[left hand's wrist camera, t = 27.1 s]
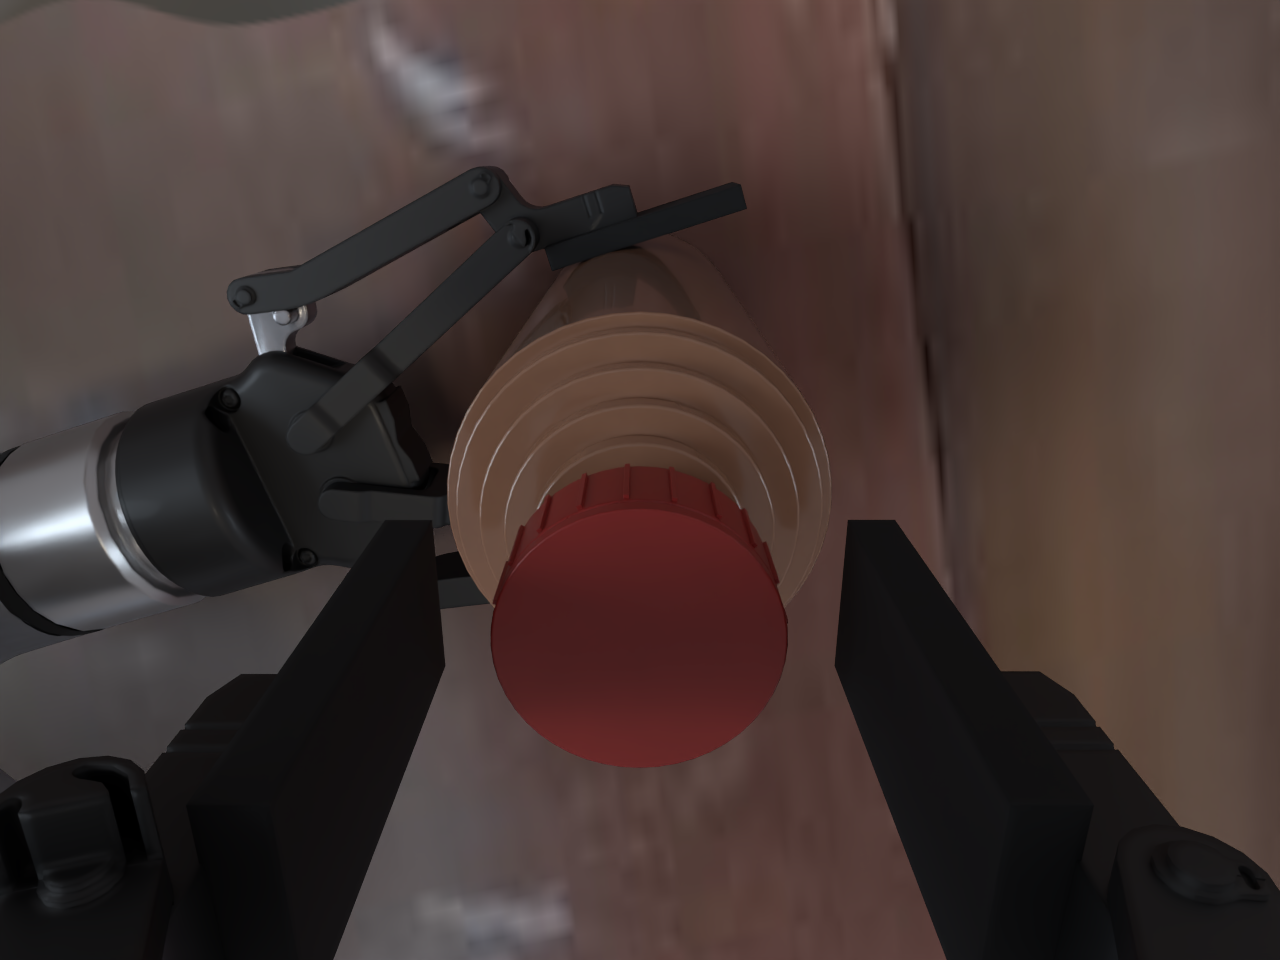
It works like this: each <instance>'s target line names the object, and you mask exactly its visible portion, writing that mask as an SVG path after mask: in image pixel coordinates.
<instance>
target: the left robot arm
mask: <svg viewBox="0 0 1280 960" xmlns="http://www.w3.org/2000/svg"><path fill="white" fill-rule="evenodd" d="M444 668H445V657H444V646H443V635H442V624H441V613H440V602H439V591H438V580H437V569H436V558H435V547H434V536H433V525H432V520H385V521H384V522H383V524H382V525H381V527H380V528H379V529H378V531H377V532H376V534H375V535H374V537H373V538H372V539H371V541H370V542H369V544H368V545H367V547H366V548H365V550H364V551H363V552H362V554H361V555H360V557H359V558H358V560H357V561H356V562H355V564H354V565H353V567H352V568H351V570H350V571H349V572H348V574H347V575H346V577H345V578H344V580H343V581H342V582H341V584H340V585H339V587H338V588H337V590H336V591H335V592H334V594H333V595H332V597H331V598H330V600H329V601H328V602H327V604H326V605H325V607H324V608H323V610H322V611H321V612H320V614H319V615H318V617H317V618H316V620H315V621H314V623H313V624H312V625H311V627H310V628H309V630H308V631H307V633H306V634H305V635H304V637H303V638H302V640H301V641H300V643H299V644H298V645H297V647H296V648H295V650H294V651H293V653H292V654H291V655H290V657H289V658H288V660H287V661H286V663H285V664H284V665H283V667H282V668H281V670H280V671H279V673H278V674H241V675H239V676H238V677H236V678H235V679H233V680H232V681H230V682H229V683H227V684H226V685H224V686H223V687H221V688H220V689H218V690H217V691H215V692H214V693H212V694H211V695H210V696H208V697H207V698H206V699H205V700H204V701H203V703H202V704H201V705H200V706H199V708H198V709H197V710H196V711H195V713H194V714H193V715H192V716H191V718H190V719H189V720H188V721H187V723H186V724H185V729H184V730H180V731H179V733H178V734H177V735H176V736H175V738H174V739H173V740H172V741H171V743H170V744H169V745H168V746H167V752H166V753H162V754H161V755H160V757H159V758H158V759H157V760H156V762H155V763H154V764H153V765H152V767H151V768H150V769H149V770H148V772H147V773H146V774H145V773H144V771H143V770H142V769H141V768H140V767H139V766H137V765H136V764H135V763H134V762H132V761H131V760H128V759H122V758H117V757H112V756H100V757H89V758H78V759H75V760H71V761H68V762H64V763H61V764H57V765H54V766H50V767H47V768H45V769H43V770H41V771H38V772H36V773H34V774H32V775H30V776H28V777H26V778H24V779H22V780H20V781H18V782H15V783H14V784H13V785H11V786H10V787H9V788H7V789H6V790H4V791H3V792H2V793H0V960H333V959H334V956H335V954H336V951H337V948H338V946H339V943H340V940H341V938H342V935H343V933H344V930H345V927H346V925H347V922H348V919H349V917H350V914H351V912H352V909H353V906H354V904H355V901H356V898H357V896H358V893H359V891H360V888H361V885H362V883H363V880H364V878H365V875H366V872H367V870H368V867H369V864H370V862H371V859H372V857H373V854H374V851H375V849H376V846H377V843H378V841H379V838H380V836H381V833H382V830H383V828H384V825H385V822H386V820H387V817H388V815H389V812H390V809H391V807H392V804H393V801H394V799H395V796H396V794H397V791H398V788H399V786H400V783H401V781H402V778H403V775H404V773H405V770H406V767H407V765H408V762H409V760H410V757H411V754H412V752H413V749H414V746H415V744H416V741H417V739H418V736H419V733H420V731H421V728H422V725H423V723H424V720H425V718H426V715H427V712H428V710H429V707H430V704H431V702H432V699H433V697H434V694H435V691H436V689H437V686H438V683H439V681H440V678H441V676H442V673H443V670H444ZM835 668H836V670H837V673H838V676H839V678H840V681H841V684H842V686H843V689H844V691H845V694H846V697H847V699H848V702H849V704H850V707H851V710H852V712H853V715H854V718H855V720H856V723H857V725H858V728H859V731H860V733H861V736H862V739H863V741H864V744H865V746H866V749H867V752H868V754H869V757H870V760H871V762H872V765H873V767H874V770H875V773H876V775H877V778H878V781H879V783H880V786H881V788H882V791H883V794H884V796H885V799H886V801H887V804H888V807H889V809H890V812H891V815H892V817H893V820H894V822H895V825H896V828H897V830H898V833H899V836H900V838H901V841H902V843H903V846H904V849H905V851H906V854H907V857H908V859H909V862H910V864H911V867H912V870H913V872H914V875H915V878H916V880H917V883H918V885H919V888H920V891H921V893H922V896H923V899H924V901H925V904H926V906H927V909H928V912H929V914H930V917H931V919H932V922H933V925H934V927H935V930H936V933H937V935H938V938H939V940H940V943H941V946H942V948H943V951H944V954H945V956H946V959H947V960H1280V891H1279V889H1278V888H1277V886H1276V885H1275V884H1274V882H1273V881H1272V879H1271V878H1270V876H1269V875H1268V873H1267V872H1265V871H1264V870H1263V869H1262V868H1261V867H1259V866H1258V865H1257V864H1256V863H1255V862H1253V861H1252V860H1251V859H1250V858H1249V857H1247V856H1246V855H1245V854H1244V853H1242V852H1240V851H1239V850H1237V849H1235V848H1233V847H1231V846H1229V845H1228V844H1226V843H1224V842H1222V841H1220V840H1218V839H1216V838H1215V837H1212V836H1209V835H1206V834H1203V833H1200V832H1197V831H1194V830H1191V829H1187V828H1184V827H1180V826H1179V825H1178V823H1177V822H1176V821H1175V820H1174V818H1173V817H1172V816H1171V815H1170V814H1169V812H1168V811H1167V810H1166V809H1165V807H1164V806H1163V805H1162V804H1161V802H1160V801H1159V800H1158V799H1157V797H1156V796H1155V795H1154V794H1153V792H1152V791H1151V790H1150V789H1149V787H1148V786H1147V785H1146V784H1145V782H1144V781H1143V780H1142V779H1141V777H1140V776H1139V775H1138V774H1137V772H1136V771H1135V770H1134V769H1133V768H1132V766H1131V765H1130V764H1129V763H1128V761H1127V760H1126V759H1125V758H1124V756H1123V755H1122V754H1121V753H1120V751H1119V750H1114V744H1113V743H1112V741H1111V740H1110V739H1109V738H1108V736H1107V735H1106V734H1105V733H1104V731H1103V730H1102V729H1101V728H1100V727H1096V724H1095V720H1094V719H1093V718H1092V717H1091V715H1090V714H1089V713H1088V712H1087V710H1086V709H1085V708H1084V707H1083V705H1082V704H1081V703H1080V702H1079V700H1078V699H1077V698H1076V697H1075V695H1074V694H1072V693H1071V692H1069V691H1068V690H1066V689H1065V688H1063V687H1062V686H1060V685H1059V684H1057V683H1056V682H1054V681H1053V680H1051V679H1050V678H1048V677H1047V676H1045V675H1044V674H1042V673H1041V672H1039V671H1000V670H999V668H998V667H997V665H996V664H995V663H994V661H993V660H992V658H991V657H990V655H989V654H988V653H987V651H986V650H985V648H984V647H983V645H982V644H981V643H980V641H979V640H978V638H977V637H976V635H975V634H974V633H973V631H972V630H971V628H970V627H969V625H968V624H967V623H966V621H965V620H964V618H963V617H962V615H961V614H960V612H959V611H958V610H957V608H956V607H955V605H954V604H953V602H952V601H951V600H950V598H949V597H948V595H947V594H946V592H945V591H944V590H943V588H942V587H941V585H940V584H939V582H938V581H937V580H936V578H935V577H934V575H933V574H932V572H931V571H930V570H929V568H928V567H927V565H926V564H925V562H924V561H923V560H922V558H921V557H920V555H919V554H918V552H917V551H916V550H915V548H914V547H913V545H912V544H911V542H910V541H909V539H908V538H907V537H906V535H905V534H904V532H903V531H902V529H901V528H900V527H899V525H898V524H897V522H896V521H895V520H848V525H847V536H846V547H845V558H844V569H843V580H842V591H841V602H840V613H839V624H838V635H837V646H836V657H835Z"/></svg>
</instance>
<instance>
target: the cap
mask: <svg viewBox="0 0 1280 960" xmlns="http://www.w3.org/2000/svg"><path fill="white" fill-rule="evenodd" d="M778 583H780V581H779V578H778V575H777V572H776V569H775V566H774V562H773V559H772V556H771V553H770V550H769V547H768V544H767V542H762V540H761V538H760V536H759V534H758V532H757V530H756V528H755V527H754V525H753V524H752V523H751V521H750V519H749V515H748V512H747V510H746V509H745V508H743V509H742V510H741V509H740V508H739V507H738V506H737V504H736V503H734V502H733V501H732V500H731V499H730V498H728V497H727V496H726V495H725V494H724V493H722V492H721V491H719V490H718V489H716V486H715V484H714V483H713V482H710V484H708V483H706V482H704V481H702V480H700V479H697V478H695V477H693V476H691V475H687V474H684V473H681V472H678V471H675V468H674V467H671V466H670V467H669V469H666V468H659V467H645V466H633V467H630V464H625V467H618V468H614V469H609V470H604V471H600V472H597V473H594V474H591V475H587V473H584V474H582V476H581V479H578V480H577V481H574V482H572V483H570V484H569V485H567V486H566V487H564V488H562V489H561V490H559V491H558V492H556V493H555V494H554V495H552V496H550V495H549V494H548V495H547V496H546V497H545V500H544V503H543V504H542V505H541V506H540V507H539V508H538V509H537V510H536V512H535V513H534V514H533V515H532V516H531V517H530V519H529V520H528V522H527V523H526V525H525V526H523V525H521V526H520V527H519V529H518V532H517V535H516V539H515V542H514V545H513V548H512V551H511V554H510V557H509V560H508V561H506V562H505V565H504V568H503V571H502V574H501V577H500V581H499V584H498V587H497V590H496V593H495V596H494V599H493V603H492V604H494V605H495V608H494V611H493V617H492V624H491V651H492V658H493V663H494V667H495V670H496V673H497V677H498V680H499V682H500V684H501V686H502V688H503V690H504V692H505V694H506V696H507V698H508V699H509V701H510V702H511V704H512V705H513V707H514V708H515V710H516V711H517V712H518V713H519V714H520V716H521V717H522V718H523V719H524V720H525V721H526V722H527V723H528V724H529V725H530V726H531V727H532V728H533V729H534V730H535V731H536V732H538V733H539V734H540V735H541V736H543V737H544V738H546V739H547V740H549V741H550V742H551V743H553V744H554V745H556V746H558V747H560V748H562V749H564V750H566V751H567V752H569V753H572V754H574V755H577V756H579V757H582V758H584V759H587V760H591V761H595V762H598V763H602V764H607V765H613V766H620V767H635V768H644V767H659V766H665V765H671V764H677V763H680V762H684V761H687V760H691V759H694V758H697V757H699V756H702V755H704V754H706V753H709V752H711V751H713V750H715V749H717V748H718V747H720V746H722V745H724V744H726V743H727V742H728V741H730V740H731V739H733V738H734V737H735V736H737V735H738V734H740V733H741V732H742V731H743V730H744V729H745V728H746V727H747V726H749V725H750V724H751V723H752V722H753V721H754V720H755V718H756V717H757V716H758V715H759V714H760V712H761V711H762V710H763V709H764V708H765V706H766V704H767V703H768V701H769V700H770V698H771V697H772V695H773V693H774V691H775V689H776V687H777V685H778V682H779V680H780V678H781V675H782V671H783V668H784V664H785V660H786V653H787V646H788V630H787V623H788V619H787V615H786V612H785V609H784V606H783V603H782V600H781V597H780V593H779V590H778V587H777V584H778Z"/></svg>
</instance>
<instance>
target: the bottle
mask: <svg viewBox="0 0 1280 960" xmlns="http://www.w3.org/2000/svg"><path fill="white" fill-rule="evenodd" d="M625 464H630V467H633V466H645V467H659V468H666V469H669V467H670V466H671V467H674V468H675V471H678V472H681V473H684V474H687V475H691V476H693V477H695V478H697V479H700V480H702V481H704V482H706V483H708V484H710V482H713V483H714V484H715V486H716V489H718V490H719V491H721V492H722V493H724V494H725V495H726V496H727V497H728V498H730V499H731V500H732V501H733V502H734V503H736V504H737V506H738V507H739V508H740V509H741V510H742V509H743V508H745V509H746V510H747V512H748V515H749V519H750V521H751V523H752V524H753V525H754V527H755V528H756V530H757V532H758V534H759V536H760V538H761V540H762V542H767V544H768V547H769V550H770V553H771V556H772V559H773V562H774V566H775V569H776V572H777V575H778V578H779V581H780V583H778V584H777V587H778V590H779V593H780V597H781V600H782V603H783V606H784V608H785V607H786V606H787V605H788V603H789V602H790V601H791V600H792V598H793V597H794V596H795V595H796V594H797V592H798V591H799V590H800V588H801V587H802V585H803V583H804V582H805V580H806V579H807V577H808V575H809V574H810V572H811V571H812V568H813V566H814V564H815V562H816V560H817V558H818V555H819V553H820V551H821V548H822V545H823V542H824V538H825V535H826V532H827V528H828V523H829V516H830V510H831V493H832V480H831V472H830V464H829V457H828V453H827V450H826V446H825V442H824V439H823V435H822V433H821V430H820V428H819V426H818V423H817V421H816V419H815V417H814V414H813V412H812V410H811V409H810V407H809V406H808V404H807V402H806V401H805V399H804V397H803V396H802V394H801V393H800V391H799V389H798V388H797V387H796V385H795V384H794V382H793V381H792V379H791V378H790V376H789V375H788V373H787V372H786V370H785V369H784V367H783V366H782V364H781V363H780V361H779V360H778V358H777V357H776V356H775V354H774V353H773V351H772V350H771V348H770V347H769V345H768V344H767V342H766V341H765V339H764V338H763V336H762V335H761V333H760V332H759V330H758V329H757V327H756V326H755V324H754V323H753V322H752V320H751V319H750V317H749V316H748V314H747V313H746V311H745V310H744V308H743V307H742V305H741V304H740V302H739V301H738V299H737V298H736V296H735V295H734V293H733V292H732V291H731V289H730V288H729V286H728V285H727V283H726V282H725V280H724V279H723V277H722V276H721V274H720V273H719V271H718V270H717V269H716V267H715V266H714V265H713V264H712V263H711V261H710V260H709V259H708V258H707V257H706V256H705V255H704V254H702V253H701V252H700V251H699V250H698V249H696V248H695V247H693V246H692V245H690V244H689V243H687V242H685V241H683V240H681V239H679V238H677V237H674V236H672V235H669V234H666V235H663V236H660V237H657V238H654V239H651V240H647V241H644V242H641V243H638V244H635V245H632V246H629V247H626V248H622V249H619V250H616V251H613V252H610V253H607V254H604V255H601V256H597V257H594V258H591V259H588V260H585V261H582V262H579V263H576V264H573V265H569V266H566V267H564V268H563V269H562V270H561V272H560V273H559V275H558V276H557V278H556V279H555V281H554V282H553V284H552V285H551V286H550V288H549V289H548V291H547V292H546V294H545V295H544V297H543V298H542V300H541V301H540V303H539V304H538V306H537V307H536V308H535V310H534V311H533V313H532V314H531V316H530V317H529V319H528V320H527V322H526V323H525V325H524V326H523V328H522V329H521V330H520V332H519V333H518V335H517V336H516V338H515V339H514V341H513V342H512V344H511V345H510V347H509V348H508V350H507V351H506V352H505V354H504V355H503V357H502V358H501V360H500V361H499V363H498V364H497V366H496V367H495V369H494V370H493V372H492V373H491V374H490V376H489V377H488V379H487V380H486V382H485V383H484V385H483V386H482V388H481V389H480V391H479V392H478V394H477V395H476V397H475V399H474V400H473V402H472V403H471V405H470V407H469V408H468V410H467V412H466V414H465V416H464V418H463V421H462V423H461V425H460V427H459V430H458V432H457V435H456V438H455V442H454V445H453V449H452V452H451V456H450V462H449V470H448V477H447V504H448V511H449V518H450V524H451V529H452V532H453V536H454V539H455V542H456V546H457V549H458V551H459V553H460V556H461V558H462V560H463V562H464V565H465V567H466V569H467V571H468V572H469V574H470V576H471V577H472V579H473V581H474V582H475V584H476V585H477V587H478V589H479V590H480V591H481V593H482V594H483V595H484V596H485V597H486V599H487V600H488V601H489V602H490V604H491V605H492V606H493V607H494V608H495V605H494V604H492V603H493V599H494V596H495V593H496V590H497V587H498V584H499V581H500V577H501V574H502V571H503V568H504V565H505V562H506V561H508V560H509V557H510V554H511V551H512V548H513V545H514V542H515V539H516V535H517V532H518V529H519V527H520V526H521V525H523V526H525V525H526V523H527V522H528V520H529V519H530V517H531V516H532V515H533V514H534V513H535V512H536V510H537V509H538V508H539V507H540V506H541V505H542V504H543V503H544V500H545V497H546V496H547V495H548V494H549V495H550V496H552V495H554V494H555V493H556V492H558V491H559V490H561V489H562V488H564V487H566V486H567V485H569V484H570V483H572V482H574V481H577V480H578V479H581V476H582V474H584V473H587V475H591V474H594V473H597V472H600V471H604V470H609V469H614V468H618V467H625Z"/></svg>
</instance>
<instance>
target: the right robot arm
mask: <svg viewBox="0 0 1280 960" xmlns="http://www.w3.org/2000/svg"><path fill="white" fill-rule="evenodd" d="M744 209H747V207H746V203H745V200H744V196H743V192H742V188H741V185H740V184H737V183H733V182H731V183H728V184H725V185H722V186H719V187H716V188H713V189H709V190H706V191H703V192H700V193H697V194H694V195H691V196H688V197H685V198H682V199H679V200H676V201H672V202H669V203H666V204H663V205H660V206H657V207H654V208H651V209H648V210H645V211H642V212H639V213H637V209H636V206H635V203H634V199H633V196H632V193H631V189H630V186H629V185H618V184H612V185H609V186H606V187H603V188H600V189H597V190H594V191H591V192H588V193H585V194H582V195H579V196H576V197H573V198H569V199H566V200H563V201H560V202H557V203H554V204H551V205H548V206H543V207H540V206H534V205H531V204H530V203H528V202H526V201H525V200H524V199H523V198H522V197H521V195H520V194H519V193H518V191H517V190H516V189H515V188H514V186H513V185H512V184H511V182H510V181H509V178H508V176H507V175H506V173H505V172H504V171H503V170H502V169H500V168H498V167H494V166H484V167H476V168H473V169H470V170H468V171H466V172H465V173H463V174H461V175H459V176H458V177H456V178H454V179H452V180H451V181H449V182H447V183H445V184H444V185H442V186H440V187H438V188H436V189H435V190H433V191H431V192H429V193H428V194H426V195H424V196H422V197H421V198H419V199H417V200H415V201H414V202H412V203H410V204H408V205H406V206H405V207H403V208H401V209H399V210H398V211H396V212H394V213H392V214H391V215H389V216H387V217H385V218H384V219H382V220H380V221H378V222H376V223H375V224H373V225H371V226H369V227H368V228H366V229H364V230H362V231H361V232H359V233H357V234H355V235H353V236H352V237H350V238H348V239H346V240H345V241H343V242H341V243H339V244H338V245H336V246H334V247H332V248H331V249H329V250H327V251H325V252H323V253H322V254H320V255H318V256H316V257H315V258H313V259H311V260H309V261H308V262H306V263H304V264H302V265H297V266H289V267H282V268H274V269H268V270H265V271H262V272H258V273H255V274H252V275H249V276H245V277H242V278H239V279H236V280H234V281H233V282H232V283H231V284H230V285H229V287H228V290H227V299H228V301H229V303H230V305H231V306H232V307H233V308H234V309H235V310H236V311H237V312H239V313H242V314H247V315H248V319H249V322H250V326H251V329H252V333H253V336H254V340H255V343H256V347H257V350H258V354H259V356H257V357H256V358H255V359H254V360H253V361H252V362H251V363H250V364H249V366H248V367H247V368H246V369H245V370H244V371H243V372H242V373H241V374H239V375H236V376H233V377H230V378H227V379H224V380H221V381H218V382H214V383H211V384H208V385H205V386H202V387H199V388H196V389H193V390H189V391H186V392H183V393H180V394H177V395H174V396H171V397H168V398H164V399H161V400H158V401H155V402H152V403H149V404H147V405H144V406H143V407H141V408H139V409H138V410H137V411H136V412H120V413H117V414H114V415H111V416H108V417H105V418H102V419H99V420H96V421H93V422H90V423H86V424H83V425H80V426H77V427H74V428H71V429H68V430H65V431H62V432H59V433H56V434H53V435H49V436H46V437H43V438H40V439H37V440H34V441H31V442H28V443H25V444H23V445H21V446H18V447H15V448H13V449H10V450H7V451H5V452H4V453H0V664H1V663H3V662H5V661H7V660H9V659H11V658H13V657H15V656H18V655H20V654H23V653H26V652H29V651H32V650H35V649H39V648H42V647H45V646H48V645H52V644H55V643H58V642H62V641H65V640H68V639H72V638H75V637H78V636H81V635H84V634H88V633H92V632H96V631H100V630H102V629H105V628H109V627H112V626H116V625H119V624H123V623H126V622H130V621H134V620H137V619H141V618H144V617H148V616H151V615H155V614H159V613H162V612H166V611H169V610H173V609H176V608H180V607H184V606H187V605H190V604H193V603H197V602H199V601H201V600H202V599H203V598H205V597H206V596H211V597H214V596H221V595H224V594H227V593H231V592H234V591H238V590H241V589H245V588H248V587H252V586H255V585H258V584H262V583H265V582H269V581H272V580H276V579H279V578H282V577H286V576H289V575H293V574H296V573H299V572H302V571H305V570H308V569H311V568H313V567H316V566H321V565H337V566H343V567H348V568H352V567H353V565H354V564H355V562H356V561H357V560H358V558H359V557H360V555H361V554H362V552H363V551H364V550H365V548H366V547H367V545H368V544H369V542H370V541H371V539H372V538H373V537H374V535H375V534H376V532H377V531H378V529H379V528H380V527H381V525H382V524H383V522H384V521H385V520H432V525H433V528H439V527H443V526H445V525H451V524H450V518H449V511H448V504H447V477H448V470H449V464H441V463H432V460H431V457H430V455H429V452H428V450H427V448H426V445H425V443H424V442H423V440H422V439H421V438H420V436H419V435H418V434H417V432H416V431H415V430H414V428H413V427H412V425H411V418H410V411H409V404H408V402H407V400H406V397H405V395H404V392H403V390H402V388H401V386H398V387H395V386H394V384H393V383H392V382H393V381H394V380H395V379H396V378H397V377H398V376H399V375H400V374H401V373H402V372H403V371H405V370H406V369H407V368H408V367H409V366H410V365H411V364H412V363H413V362H414V361H415V360H416V359H417V358H419V357H420V356H421V355H422V354H423V353H424V352H425V351H426V350H427V349H428V348H429V347H430V346H431V345H433V344H434V343H435V342H436V341H437V340H438V339H439V338H440V337H441V336H442V335H443V334H444V333H445V332H446V331H448V330H449V329H450V328H451V327H452V326H453V325H454V324H455V323H456V322H457V321H458V320H459V319H460V318H462V317H463V316H464V315H465V314H466V313H467V312H468V311H469V310H470V309H471V308H472V307H473V306H474V305H476V304H477V303H478V302H479V301H480V300H481V299H482V298H483V297H484V296H485V295H486V294H487V293H488V292H490V291H491V290H492V289H493V288H494V287H495V286H496V285H497V284H498V283H499V282H500V281H501V280H502V279H504V278H505V277H506V276H507V275H508V274H509V273H510V272H511V271H512V270H513V269H514V268H515V267H516V266H518V265H519V264H520V263H521V262H522V261H523V260H524V259H525V258H526V257H527V256H528V255H529V254H530V253H532V252H534V251H538V250H541V249H544V248H545V251H546V254H547V257H548V260H549V263H550V266H551V269H552V271H554V270H557V269H560V268H563V267H566V266H569V265H573V264H576V263H579V262H582V261H585V260H588V259H591V258H594V257H597V256H601V255H604V254H607V253H610V252H613V251H616V250H619V249H622V248H626V247H629V246H632V245H635V244H638V243H641V242H644V241H647V240H651V239H654V238H657V237H660V236H663V235H666V234H669V233H672V232H675V231H679V230H682V229H685V228H688V227H691V226H694V225H697V224H700V223H704V222H707V221H710V220H713V219H716V218H719V217H722V216H725V215H729V214H732V213H735V212H738V211H741V210H744ZM479 213H481V214H482V216H483V217H484V218H485V219H486V221H487V222H488V223H489V224H490V226H491V227H492V228H493V229H494V231H495V232H496V233H495V234H494V235H492V236H491V237H490V238H489V239H488V240H487V241H486V242H485V243H484V244H483V245H482V246H481V247H480V248H479V249H478V250H477V251H476V252H475V253H474V254H472V255H471V256H470V257H469V258H468V259H467V260H466V261H465V262H464V263H463V264H462V265H461V266H460V267H459V268H458V269H457V270H456V271H455V272H453V273H452V274H451V275H450V276H449V277H448V278H447V279H446V280H445V281H444V282H443V283H442V284H441V285H440V286H439V287H438V288H437V289H436V290H434V291H433V292H432V293H431V294H430V295H429V296H428V297H427V298H426V299H425V300H424V301H423V302H422V303H421V304H420V305H419V306H418V307H417V308H416V309H414V310H413V311H412V312H411V313H410V314H409V315H408V316H407V317H406V318H405V319H404V320H403V321H402V322H401V323H400V324H399V325H398V326H397V327H395V328H394V329H393V330H392V331H391V332H390V333H389V334H388V335H387V336H386V337H385V338H384V339H383V340H382V341H381V342H380V343H379V344H378V345H376V346H375V347H374V348H373V349H372V350H371V351H370V352H369V353H367V354H366V355H365V356H364V357H363V358H362V359H361V360H360V361H359V362H358V363H357V364H355V365H354V364H351V363H348V362H345V361H341V360H338V359H335V358H332V357H329V356H326V355H323V354H320V353H316V352H313V351H310V350H307V349H304V348H301V347H298V346H296V343H295V337H296V334H297V332H298V330H299V329H301V328H303V327H305V326H306V325H308V324H310V323H312V322H313V321H314V319H315V317H316V314H317V307H316V303H315V302H316V301H318V300H320V299H322V298H325V297H327V296H329V295H331V294H333V293H336V292H338V291H340V290H342V289H344V288H346V287H348V286H350V285H352V284H353V283H355V282H357V281H359V280H361V279H362V278H364V277H366V276H368V275H370V274H371V273H373V272H375V271H377V270H379V269H380V268H382V267H384V266H386V265H388V264H389V263H391V262H393V261H395V260H397V259H398V258H400V257H402V256H404V255H406V254H407V253H409V252H411V251H413V250H415V249H416V248H418V247H420V246H422V245H424V244H425V243H427V242H429V241H431V240H433V239H434V238H436V237H438V236H440V235H442V234H443V233H445V232H447V231H449V230H451V229H452V228H454V227H456V226H458V225H460V224H461V223H463V222H465V221H467V220H469V219H470V218H472V217H474V216H476V215H478V214H479ZM435 558H436V569H437V580H438V591H439V602H440V609H445V608H454V607H463V606H471V605H480V604H489V603H490V602H489V601H488V600H487V599H486V597H485V596H484V595H483V594H482V593H481V591H480V590H479V589H478V587H477V585H476V584H475V582H474V581H473V579H472V577H471V576H470V574H469V572H468V571H467V569H466V567H465V565H464V562H463V560H462V558H461V556H460V553H459V551H458V552H452V553H446V554H443V555H439V556H436V557H435ZM15 782H16V781H15V780H14V779H12V778H11V777H10V776H9V775H7V774H6V773H5V772H4V771H2V770H1V769H0V793H2V792H3V791H4V790H6V789H7V788H9V787H10V786H11V785H13V784H14V783H15Z"/></svg>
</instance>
